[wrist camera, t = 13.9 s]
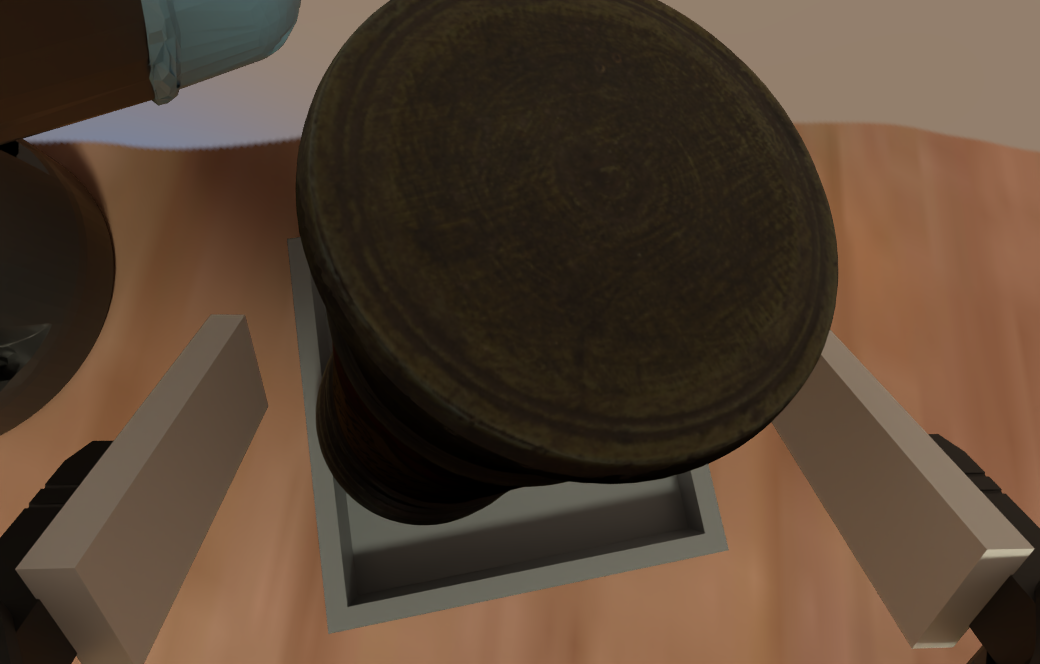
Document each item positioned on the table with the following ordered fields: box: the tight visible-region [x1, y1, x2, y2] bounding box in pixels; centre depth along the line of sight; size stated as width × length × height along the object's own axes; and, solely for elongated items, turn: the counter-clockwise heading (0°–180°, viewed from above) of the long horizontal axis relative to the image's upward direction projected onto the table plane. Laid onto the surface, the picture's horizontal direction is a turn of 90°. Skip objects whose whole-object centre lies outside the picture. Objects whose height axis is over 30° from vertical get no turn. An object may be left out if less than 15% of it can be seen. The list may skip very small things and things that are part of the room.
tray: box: [287, 237, 728, 634], centre depth 25 cm, size 16×16×2 cm
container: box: [296, 0, 838, 525], centre depth 16 cm, size 9×9×18 cm
